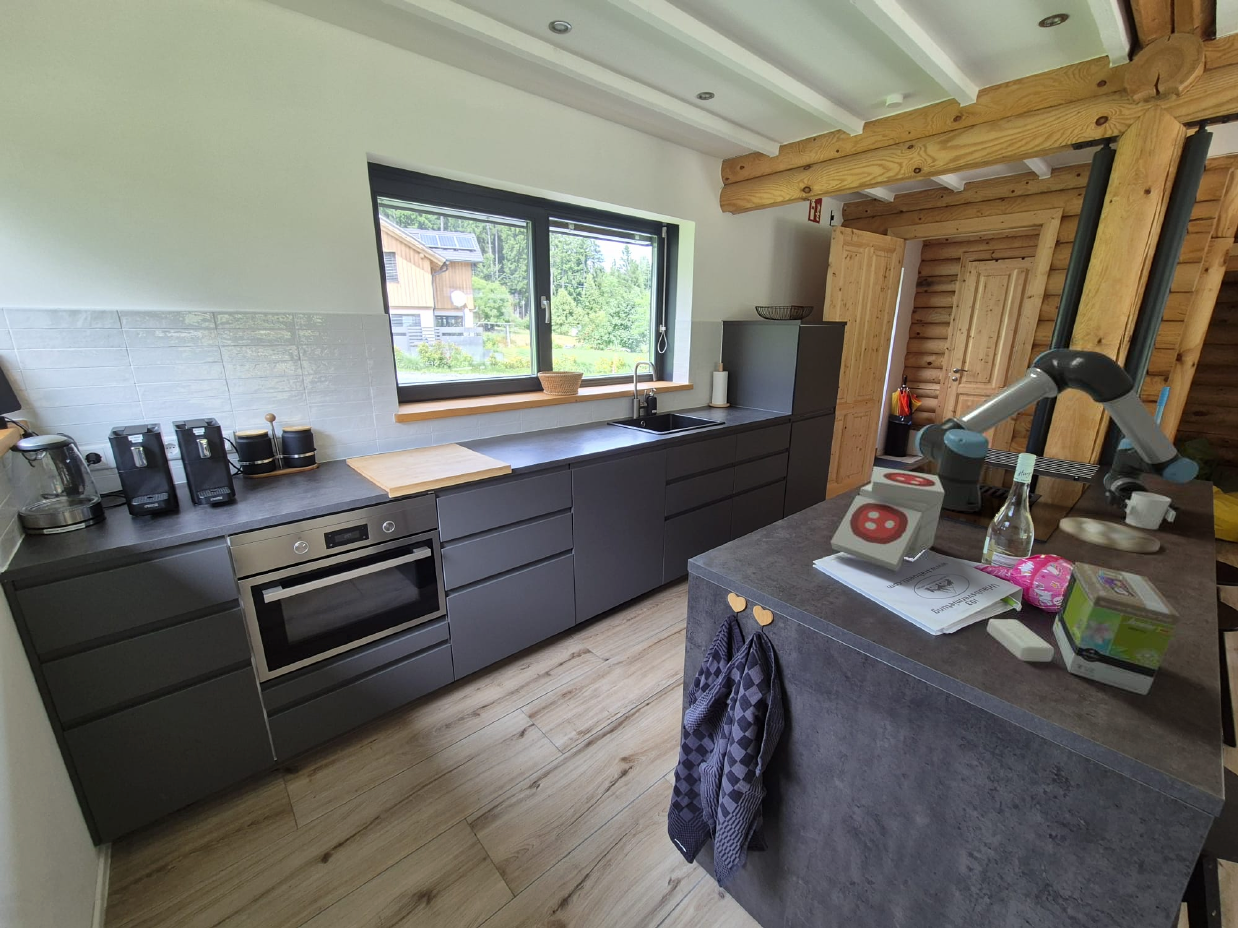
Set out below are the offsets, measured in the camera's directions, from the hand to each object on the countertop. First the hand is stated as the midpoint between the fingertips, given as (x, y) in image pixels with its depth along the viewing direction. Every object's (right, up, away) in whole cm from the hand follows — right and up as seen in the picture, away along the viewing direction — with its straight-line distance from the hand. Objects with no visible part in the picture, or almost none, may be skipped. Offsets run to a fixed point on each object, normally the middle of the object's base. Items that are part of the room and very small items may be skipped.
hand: (1152, 513), depth 141 cm
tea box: (-69, -20, -55) cm, 90 cm away
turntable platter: (-17, -6, -4) cm, 19 cm away
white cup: (+2, -5, +6) cm, 8 cm away
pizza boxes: (-84, -8, -15) cm, 86 cm away
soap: (-79, -19, -51) cm, 96 cm away
